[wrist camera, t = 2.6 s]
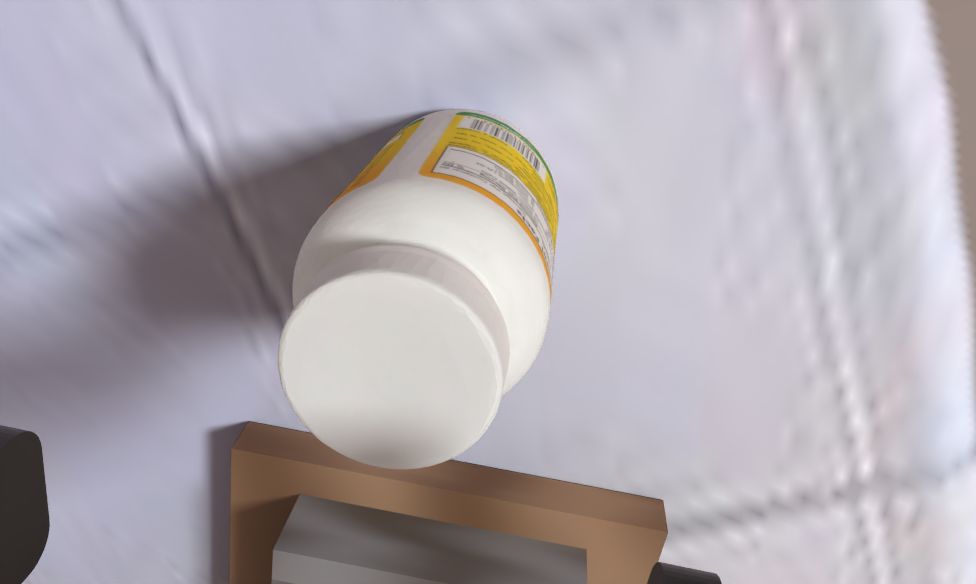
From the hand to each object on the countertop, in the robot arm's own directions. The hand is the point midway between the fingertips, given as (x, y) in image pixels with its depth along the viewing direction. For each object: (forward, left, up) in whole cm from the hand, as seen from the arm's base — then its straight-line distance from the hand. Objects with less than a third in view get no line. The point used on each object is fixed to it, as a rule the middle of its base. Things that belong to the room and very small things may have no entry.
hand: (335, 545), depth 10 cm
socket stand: (+1, -15, -13) cm, 20 cm away
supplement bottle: (0, 0, -14) cm, 14 cm away
